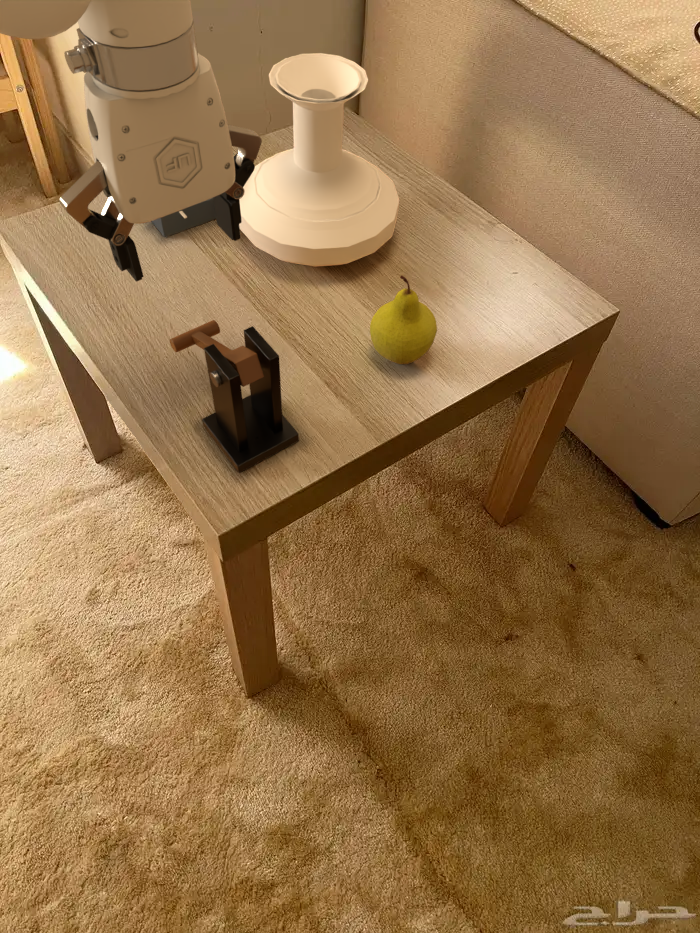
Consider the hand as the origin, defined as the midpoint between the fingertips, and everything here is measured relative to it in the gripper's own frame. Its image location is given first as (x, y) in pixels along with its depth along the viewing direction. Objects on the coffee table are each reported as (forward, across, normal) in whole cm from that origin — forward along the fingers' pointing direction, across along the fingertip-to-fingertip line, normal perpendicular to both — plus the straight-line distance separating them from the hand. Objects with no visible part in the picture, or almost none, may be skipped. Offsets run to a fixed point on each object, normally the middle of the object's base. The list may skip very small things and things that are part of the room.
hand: (181, 251), depth 63 cm
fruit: (+16, +19, -10) cm, 27 cm away
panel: (+15, +11, +25) cm, 31 cm away
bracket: (+15, -1, -10) cm, 19 cm away
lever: (+9, -1, -6) cm, 11 cm away
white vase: (+16, +23, +12) cm, 31 cm away
